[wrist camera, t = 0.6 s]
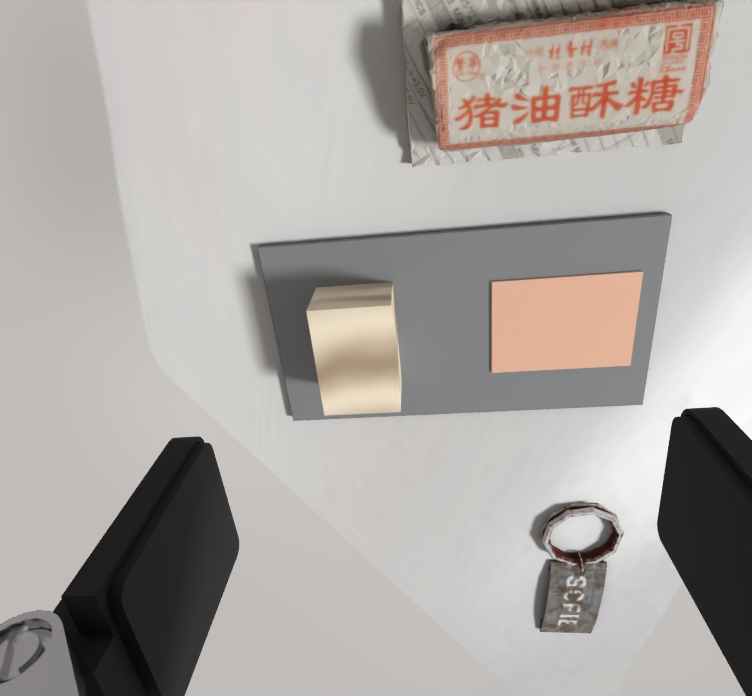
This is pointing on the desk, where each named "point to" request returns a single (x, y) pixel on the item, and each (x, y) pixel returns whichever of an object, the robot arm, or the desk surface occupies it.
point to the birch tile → (356, 348)
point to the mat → (489, 312)
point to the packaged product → (552, 75)
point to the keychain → (576, 574)
